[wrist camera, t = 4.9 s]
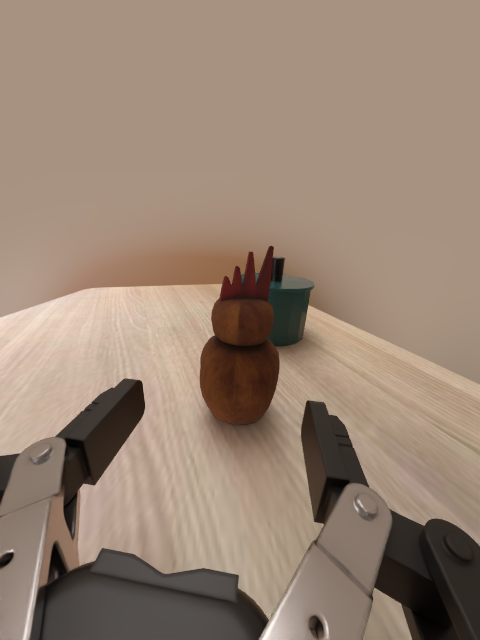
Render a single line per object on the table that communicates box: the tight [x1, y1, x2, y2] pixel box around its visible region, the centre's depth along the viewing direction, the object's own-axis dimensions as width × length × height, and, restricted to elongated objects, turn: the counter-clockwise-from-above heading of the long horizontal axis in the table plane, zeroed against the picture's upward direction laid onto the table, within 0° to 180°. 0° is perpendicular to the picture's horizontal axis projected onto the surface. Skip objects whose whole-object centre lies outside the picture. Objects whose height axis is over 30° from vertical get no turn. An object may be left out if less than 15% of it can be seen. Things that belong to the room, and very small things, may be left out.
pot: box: [267, 290, 311, 346], centre depth 39 cm, size 11×11×8 cm
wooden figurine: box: [200, 246, 279, 424], centre depth 19 cm, size 7×6×15 cm
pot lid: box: [241, 257, 315, 292], centre depth 36 cm, size 12×12×5 cm
